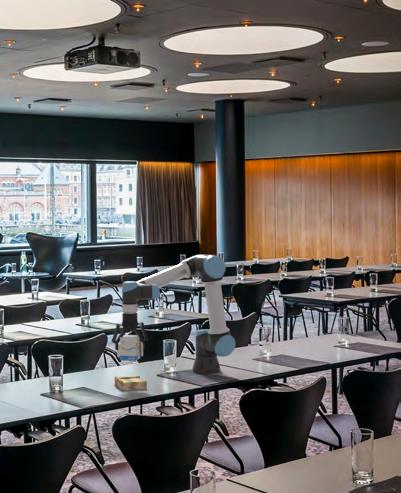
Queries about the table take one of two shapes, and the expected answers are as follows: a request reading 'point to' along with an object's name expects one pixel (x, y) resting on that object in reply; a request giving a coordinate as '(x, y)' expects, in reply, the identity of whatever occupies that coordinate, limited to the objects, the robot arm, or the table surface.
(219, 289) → the robot arm
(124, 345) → the ink box
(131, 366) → the table surface
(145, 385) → the dock
